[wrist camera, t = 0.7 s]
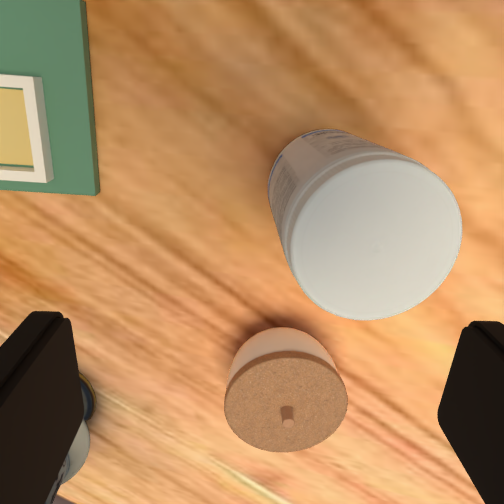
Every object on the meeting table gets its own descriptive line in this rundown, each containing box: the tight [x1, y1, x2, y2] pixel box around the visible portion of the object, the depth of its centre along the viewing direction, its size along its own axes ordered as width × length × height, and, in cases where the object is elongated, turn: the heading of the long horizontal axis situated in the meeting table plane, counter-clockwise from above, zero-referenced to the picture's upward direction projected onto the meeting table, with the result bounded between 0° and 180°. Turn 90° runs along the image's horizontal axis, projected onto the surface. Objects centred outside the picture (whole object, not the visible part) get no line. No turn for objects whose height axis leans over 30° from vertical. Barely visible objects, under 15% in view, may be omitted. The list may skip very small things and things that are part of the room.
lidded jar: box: [224, 327, 348, 452], centre depth 37 cm, size 11×11×9 cm
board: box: [0, 0, 100, 196], centre depth 30 cm, size 14×12×3 cm
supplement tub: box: [268, 129, 462, 320], centre depth 28 cm, size 10×10×15 cm
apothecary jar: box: [45, 373, 96, 504], centre depth 35 cm, size 12×12×18 cm
